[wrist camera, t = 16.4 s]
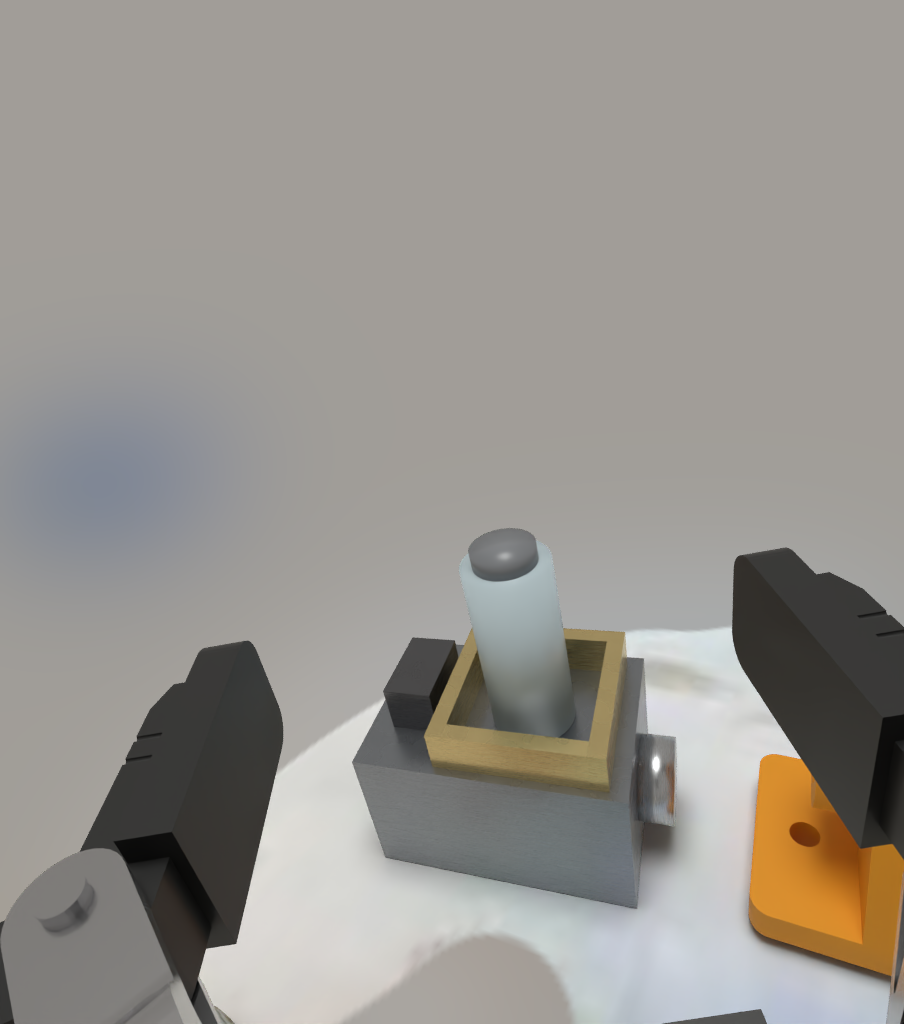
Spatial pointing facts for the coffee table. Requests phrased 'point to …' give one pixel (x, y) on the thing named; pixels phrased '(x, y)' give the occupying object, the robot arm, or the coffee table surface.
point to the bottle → (519, 632)
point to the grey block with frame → (519, 773)
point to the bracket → (819, 873)
